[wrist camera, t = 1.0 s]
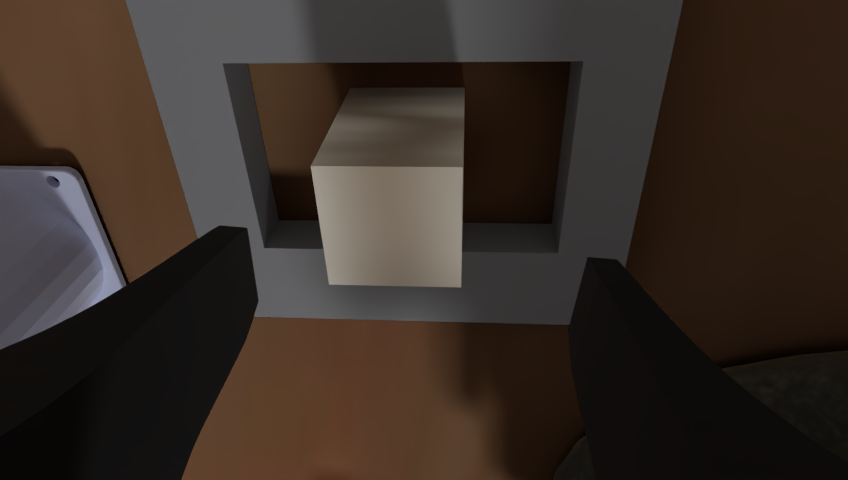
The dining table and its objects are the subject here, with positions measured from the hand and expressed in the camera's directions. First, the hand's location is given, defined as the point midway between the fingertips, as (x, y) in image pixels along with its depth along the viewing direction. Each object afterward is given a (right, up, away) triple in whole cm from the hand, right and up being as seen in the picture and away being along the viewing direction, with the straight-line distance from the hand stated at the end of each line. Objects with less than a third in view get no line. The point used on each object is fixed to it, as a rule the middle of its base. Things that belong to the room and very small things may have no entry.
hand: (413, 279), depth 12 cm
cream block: (0, +4, +9) cm, 10 cm away
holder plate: (0, +4, +9) cm, 10 cm away
